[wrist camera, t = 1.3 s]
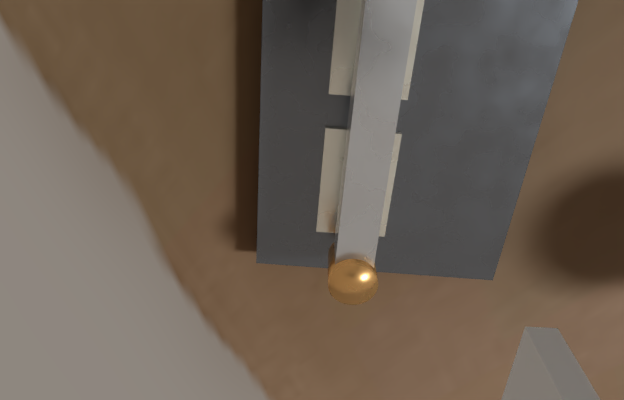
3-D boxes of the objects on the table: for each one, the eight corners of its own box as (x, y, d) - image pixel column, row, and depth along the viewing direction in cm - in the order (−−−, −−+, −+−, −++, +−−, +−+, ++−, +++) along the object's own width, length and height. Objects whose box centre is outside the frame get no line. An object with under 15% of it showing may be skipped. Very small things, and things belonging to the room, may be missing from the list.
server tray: (269, -123, 24) (262, -129, 22) (592, -96, 25) (624, -99, 22) (259, 250, 35) (253, 276, 32) (486, 266, 35) (499, 294, 32)
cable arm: (363, -124, 21) (369, -132, 19) (437, -118, 21) (453, -125, 19) (322, 271, 31) (322, 302, 29) (373, 275, 31) (377, 306, 29)
